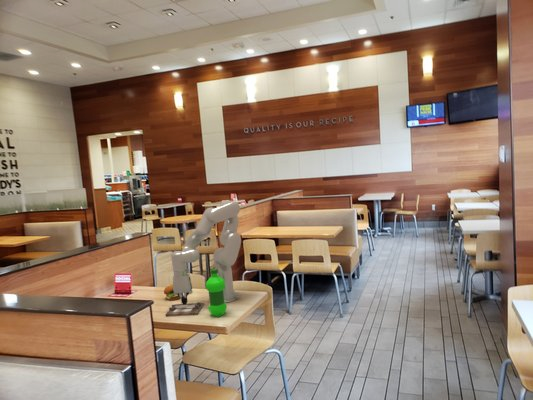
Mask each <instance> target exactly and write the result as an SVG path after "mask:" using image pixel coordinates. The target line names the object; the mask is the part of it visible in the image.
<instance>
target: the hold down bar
mask: <svg viewBox="0 0 533 400" xmlns="http://www.w3.org/2000/svg"><path fill="white" fill-rule="evenodd" d="M171 307H174V308H195V305H193V306H172V305H171Z"/></svg>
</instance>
